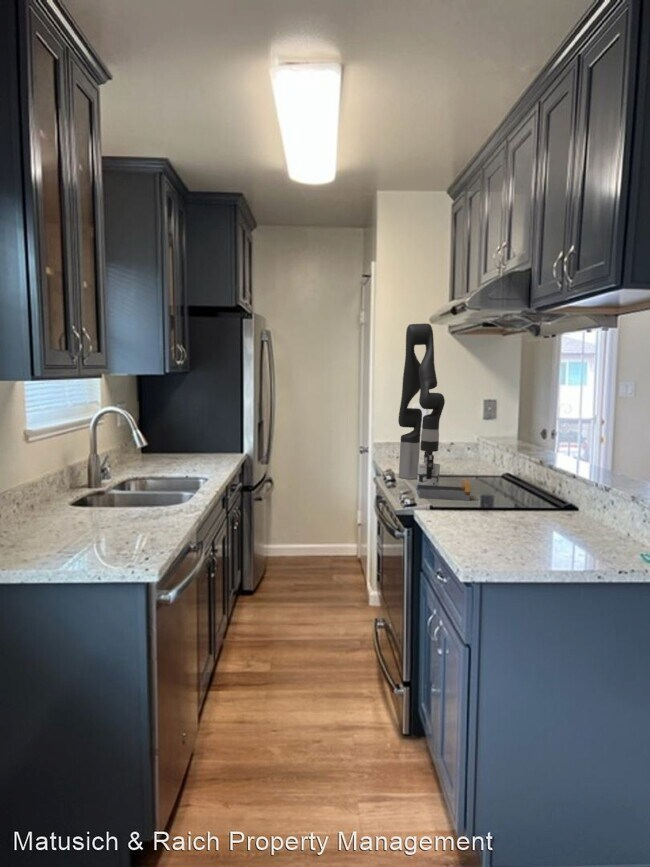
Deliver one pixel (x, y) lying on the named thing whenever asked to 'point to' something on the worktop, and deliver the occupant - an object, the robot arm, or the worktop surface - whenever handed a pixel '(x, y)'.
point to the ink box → (422, 475)
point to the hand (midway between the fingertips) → (427, 477)
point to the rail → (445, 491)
